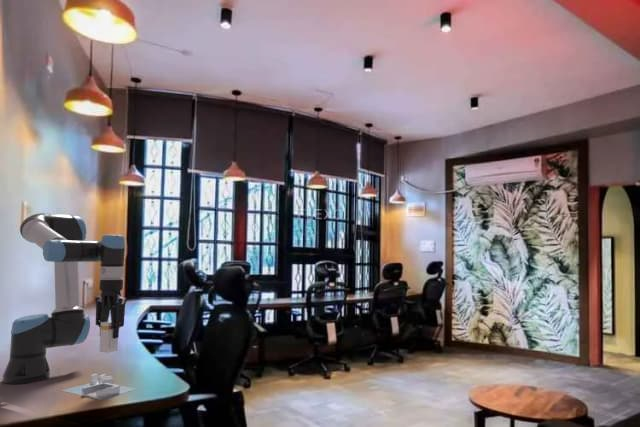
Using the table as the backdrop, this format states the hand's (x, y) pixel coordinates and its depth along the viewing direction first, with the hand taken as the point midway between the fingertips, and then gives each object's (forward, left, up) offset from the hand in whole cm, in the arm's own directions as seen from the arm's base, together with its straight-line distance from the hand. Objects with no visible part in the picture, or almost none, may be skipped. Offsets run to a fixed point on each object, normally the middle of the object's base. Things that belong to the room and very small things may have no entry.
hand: (108, 347), depth 162 cm
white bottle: (0, 0, -1) cm, 1 cm away
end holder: (+5, -6, -14) cm, 16 cm away
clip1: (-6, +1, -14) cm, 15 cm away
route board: (0, -3, -15) cm, 15 cm away
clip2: (0, 0, -14) cm, 14 cm away
